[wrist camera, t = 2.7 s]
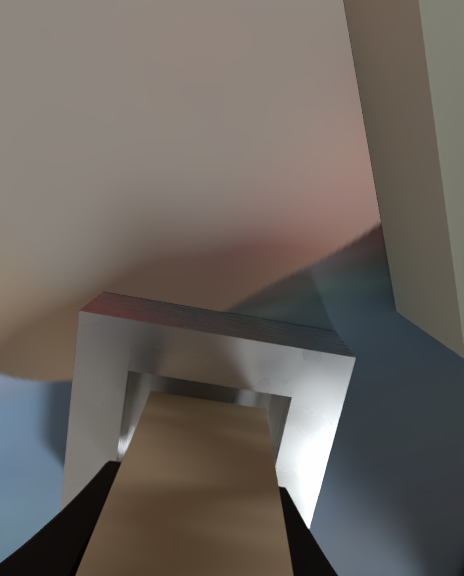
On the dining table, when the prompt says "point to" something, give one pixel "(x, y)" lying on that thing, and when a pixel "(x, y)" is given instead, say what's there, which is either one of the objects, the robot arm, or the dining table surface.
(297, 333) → the stand
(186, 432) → the peg
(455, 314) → the socket
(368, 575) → the dining table surface
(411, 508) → the dining table surface
